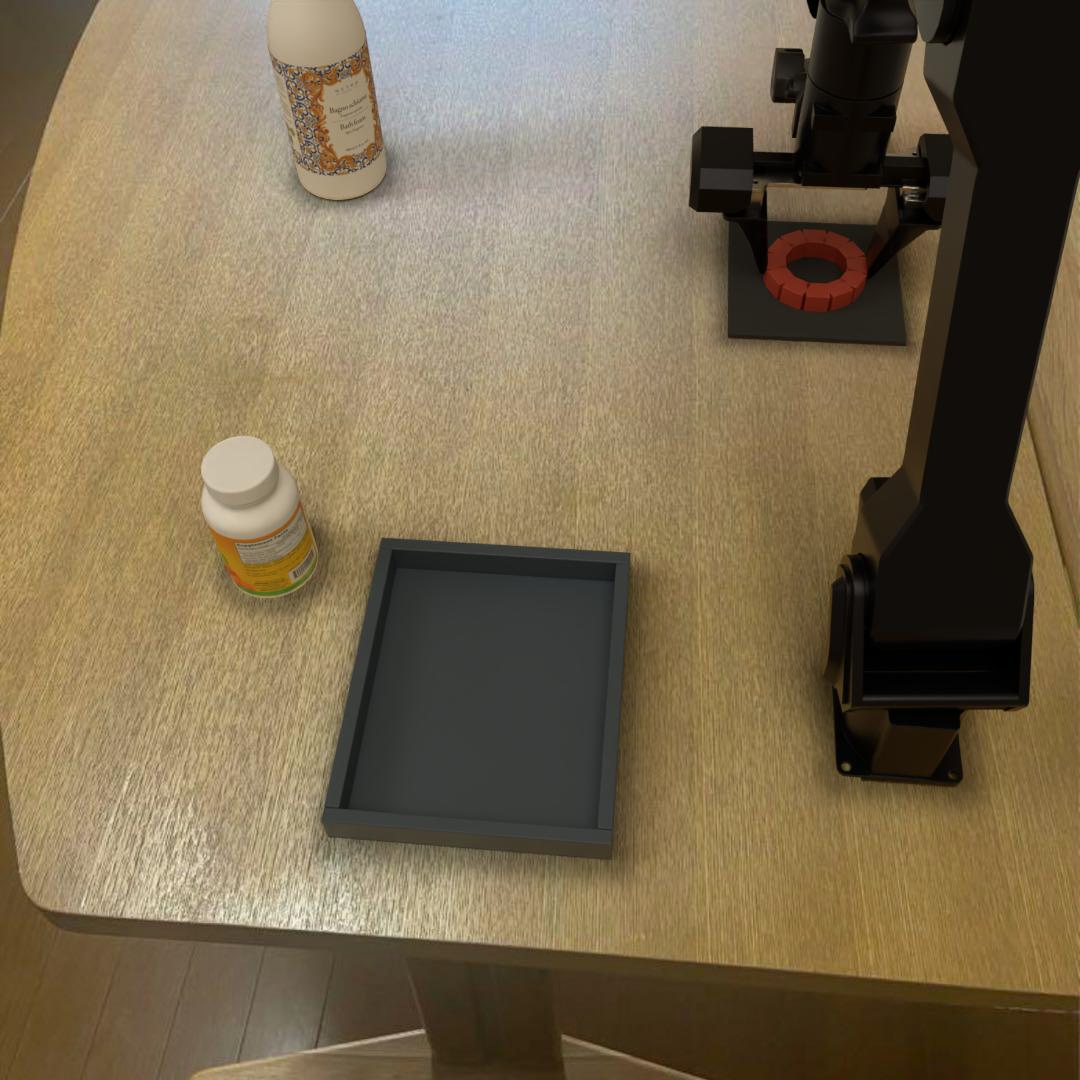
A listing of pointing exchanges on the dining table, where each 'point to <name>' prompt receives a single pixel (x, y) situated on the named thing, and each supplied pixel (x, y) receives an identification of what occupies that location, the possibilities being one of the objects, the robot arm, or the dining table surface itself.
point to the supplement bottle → (257, 518)
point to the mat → (768, 318)
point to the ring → (815, 294)
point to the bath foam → (327, 95)
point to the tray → (485, 700)
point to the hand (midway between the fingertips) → (814, 272)
